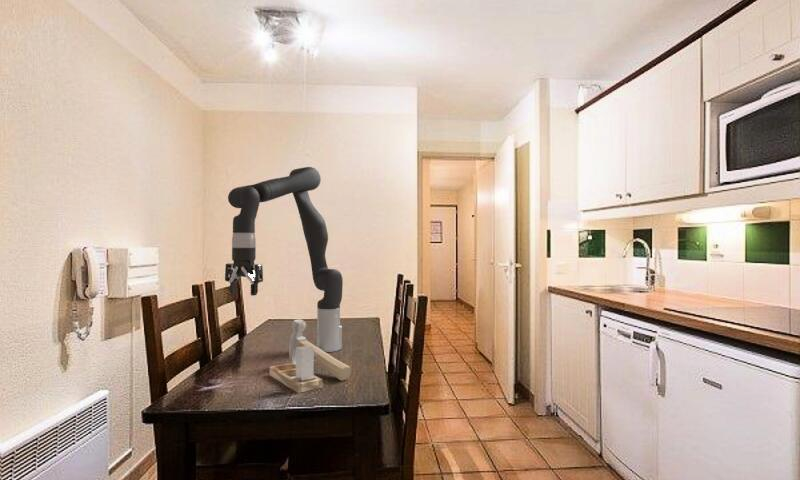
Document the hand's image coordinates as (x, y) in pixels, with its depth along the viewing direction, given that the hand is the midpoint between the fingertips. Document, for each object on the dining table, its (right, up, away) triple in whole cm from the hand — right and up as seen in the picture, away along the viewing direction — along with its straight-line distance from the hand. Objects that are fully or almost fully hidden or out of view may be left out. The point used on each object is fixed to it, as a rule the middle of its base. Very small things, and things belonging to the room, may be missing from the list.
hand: (243, 294), depth 152 cm
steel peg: (+23, -27, -13) cm, 38 cm away
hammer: (+24, -27, +3) cm, 36 cm away
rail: (+19, -27, -8) cm, 34 cm away
